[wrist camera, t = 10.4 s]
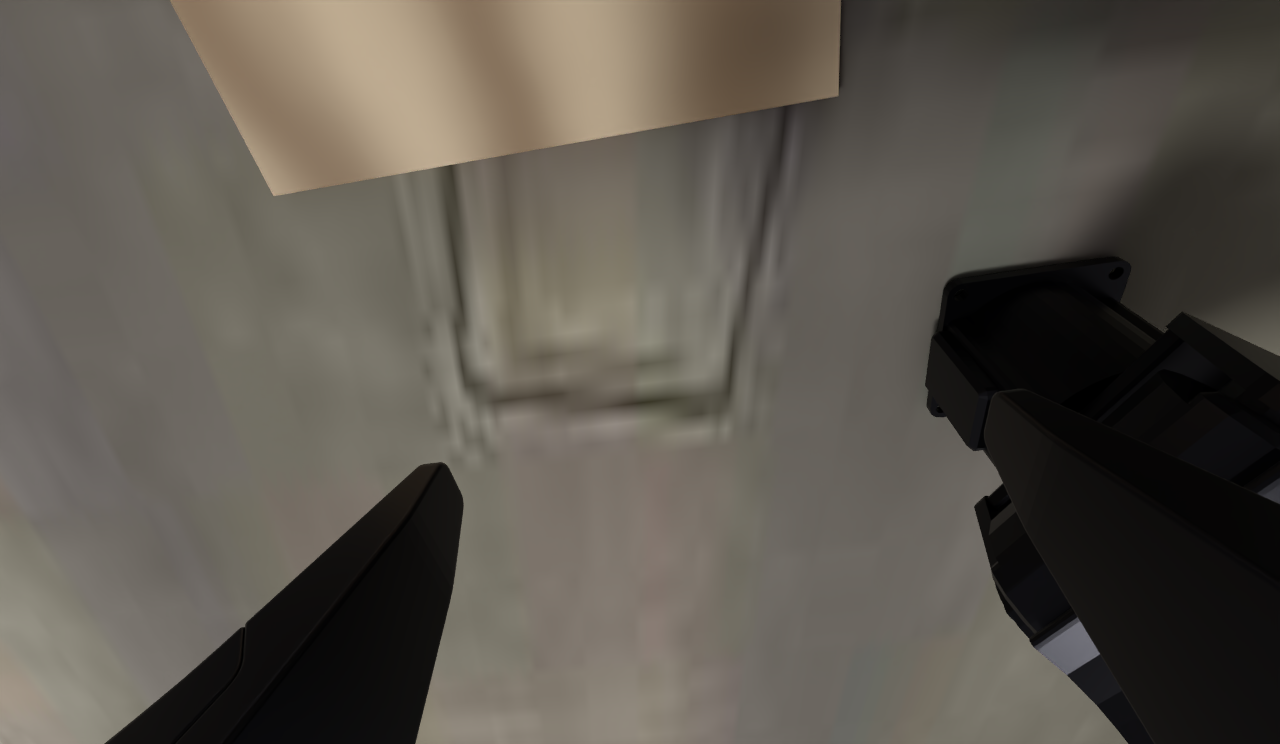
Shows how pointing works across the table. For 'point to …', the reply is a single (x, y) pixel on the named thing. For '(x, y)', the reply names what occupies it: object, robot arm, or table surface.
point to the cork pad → (493, 74)
